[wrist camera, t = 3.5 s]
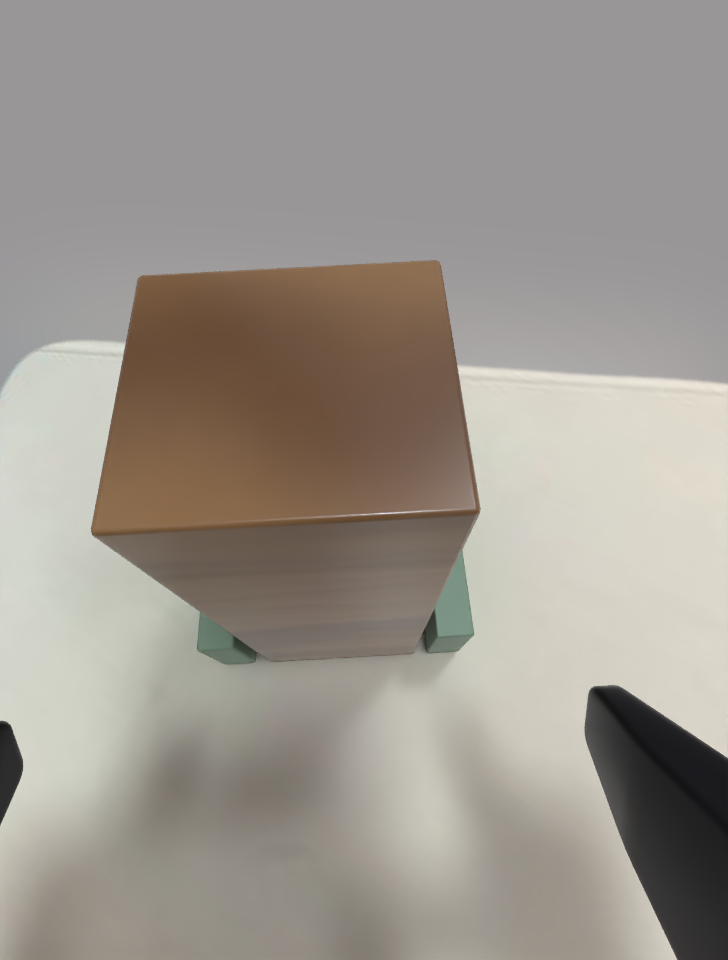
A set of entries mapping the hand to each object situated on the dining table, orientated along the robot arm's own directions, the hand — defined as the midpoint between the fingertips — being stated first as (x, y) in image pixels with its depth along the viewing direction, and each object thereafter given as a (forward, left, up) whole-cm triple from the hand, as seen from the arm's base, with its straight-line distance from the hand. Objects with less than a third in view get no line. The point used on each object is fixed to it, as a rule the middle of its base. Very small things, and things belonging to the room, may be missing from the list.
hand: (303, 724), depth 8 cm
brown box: (+5, +1, -12) cm, 13 cm away
